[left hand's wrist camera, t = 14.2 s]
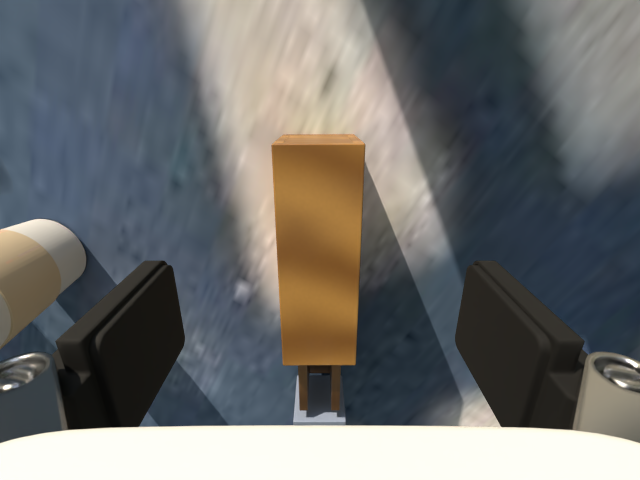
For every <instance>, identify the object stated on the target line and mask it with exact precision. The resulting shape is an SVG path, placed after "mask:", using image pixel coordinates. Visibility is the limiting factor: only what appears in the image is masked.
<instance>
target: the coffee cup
mask: <svg viewBox="0 0 640 480" xmlns="http://www.w3.org/2000/svg"><path fill="white" fill-rule="evenodd" d="M85 267H86V254H85V251H84V248H83V246H82V244H81V242H80V241H79V239H78V238H77V237H76V236H75V235H74V234H73V233H72V232H71V231H70V230H69V229H68V228H66V227H65V226H63V225H61V224H59V223H57V222H54V221H51V220H46V219H36V220H31V221H28V222H24V223H21V224H18V225H14V226H11V227H8V228H5V229H1V230H0V349H1V348H2V347H3V346H4V345H6V344H7V343H8V342H9V341H10V340H11V339H12V338H13V337H15V336H16V335H17V334H18V333H19V332H20V331H21V330H22V329H24V328H25V327H26V326H27V325H28V324H29V323H30V322H31V321H33V320H34V319H35V318H36V317H37V316H38V315H39V314H40V313H42V312H43V311H44V310H45V309H46V308H47V307H48V306H49V305H51V304H52V303H53V302H54V301H55V300H56V298H57V297H58V295H59V294H61V293H62V292H63V291H64V290H65V289H66V288H67V287H69V286H70V285H71V284H72V283H73V282H74V281H75V280H77V279H78V278H79V277H80V276H81V275H82V273H83V272H84V270H85Z"/></svg>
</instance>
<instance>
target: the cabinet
mask: <svg viewBox="0 0 640 480" xmlns="http://www.w3.org/2000/svg"><path fill="white" fill-rule="evenodd" d="M364 163H365V144H364V143H363V142H362V141H361V140H360V139H359V138H357V137H356V136H355V135H354V134H336V135H282V136H281V137H280V138H279V139H278V140H276V141H275V142H274V143H273V144H272V164H273V183H274V202H275V221H276V240H277V260H278V279H279V298H280V317H281V336H282V355H283V365H356V347H357V324H358V301H359V278H360V255H361V232H362V209H363V186H364Z"/></svg>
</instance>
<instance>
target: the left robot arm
mask: <svg viewBox="0 0 640 480" xmlns="http://www.w3.org/2000/svg"><path fill="white" fill-rule="evenodd" d="M184 342H185V335H184V329H183V323H182V317H181V312H180V306H179V300H178V295H177V289H176V283H175V277H174V272H173V268H172V266H171V265H167V263H166V262H165V261H144V262H143V263H142V264H141V265H139V266H138V267H137V268H136V269H135V270H134V271H133V272H132V273H131V274H129V275H128V276H127V277H126V278H125V279H124V280H123V281H122V282H121V283H119V284H118V285H117V286H116V287H115V288H114V289H113V290H112V291H111V292H109V293H108V294H107V295H106V296H105V297H104V298H103V299H102V300H101V301H99V302H98V303H97V304H96V305H95V306H94V307H93V308H92V309H91V310H89V311H88V312H87V313H86V314H85V315H84V316H83V317H82V318H81V319H79V320H78V321H77V322H76V323H75V324H74V325H73V326H72V327H71V328H69V329H68V330H67V331H66V332H65V333H64V334H63V335H62V336H61V337H59V338H58V339H57V340H56V344H57V347H58V350H57V351H56V352H54V353H53V354H52V355H51V354H48V353H46V352H30V353H24V354H20V355H17V356H13V357H11V358H8V359H6V360H3V361H1V362H0V480H640V362H639V361H637V360H634V359H632V358H629V357H627V356H623V355H620V354H616V353H610V352H594V353H592V354H589V355H588V354H587V353H586V352H584V351H583V350H582V347H583V344H584V340H583V339H582V338H581V337H579V336H578V335H577V334H576V333H575V332H574V331H573V330H572V329H571V328H569V327H568V326H567V325H566V324H565V323H564V322H563V321H562V320H561V319H559V318H558V317H557V316H556V315H555V314H554V313H553V312H552V311H551V310H549V309H548V308H547V307H546V306H545V305H544V304H543V303H542V302H541V301H539V300H538V299H537V298H536V297H535V296H534V295H533V294H532V293H531V292H529V291H528V290H527V289H526V288H525V287H524V286H523V285H522V284H521V283H519V282H518V281H517V280H516V279H515V278H514V277H513V276H512V275H511V274H509V273H508V272H507V271H506V270H505V269H504V268H503V267H502V266H501V265H499V264H498V263H497V262H496V261H475V262H474V263H473V265H469V266H468V268H467V272H466V277H465V283H464V289H463V295H462V300H461V306H460V312H459V317H458V323H457V329H456V335H455V342H456V346H457V348H458V350H459V352H460V354H461V356H462V357H463V359H464V361H465V363H466V365H467V366H468V368H469V370H470V372H471V374H472V375H473V377H474V379H475V381H476V382H477V384H478V386H479V388H480V390H481V391H482V393H483V395H484V397H485V399H486V400H487V402H488V404H489V406H490V407H491V409H492V411H493V413H494V415H495V416H496V418H497V420H498V422H499V424H500V425H501V427H467V426H338V425H302V426H173V427H139V425H140V424H141V422H142V420H143V418H144V416H145V415H146V413H147V411H148V409H149V407H150V406H151V404H152V402H153V400H154V399H155V397H156V395H157V393H158V391H159V390H160V388H161V386H162V384H163V382H164V381H165V379H166V377H167V375H168V374H169V372H170V370H171V368H172V366H173V365H174V363H175V361H176V359H177V357H178V356H179V354H180V352H181V350H182V348H183V346H184Z"/></svg>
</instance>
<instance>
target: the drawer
mask: <svg viewBox="0 0 640 480" xmlns="http://www.w3.org/2000/svg"><path fill="white" fill-rule="evenodd" d="M309 373H330V375H315V376H309ZM340 374H341V365H298V376H297V384H296V396H295V409H294V421H293V423H294V426H302V425H338V426H346V417H345V406H344V394H343V382H342V376H341V375H340Z"/></svg>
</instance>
